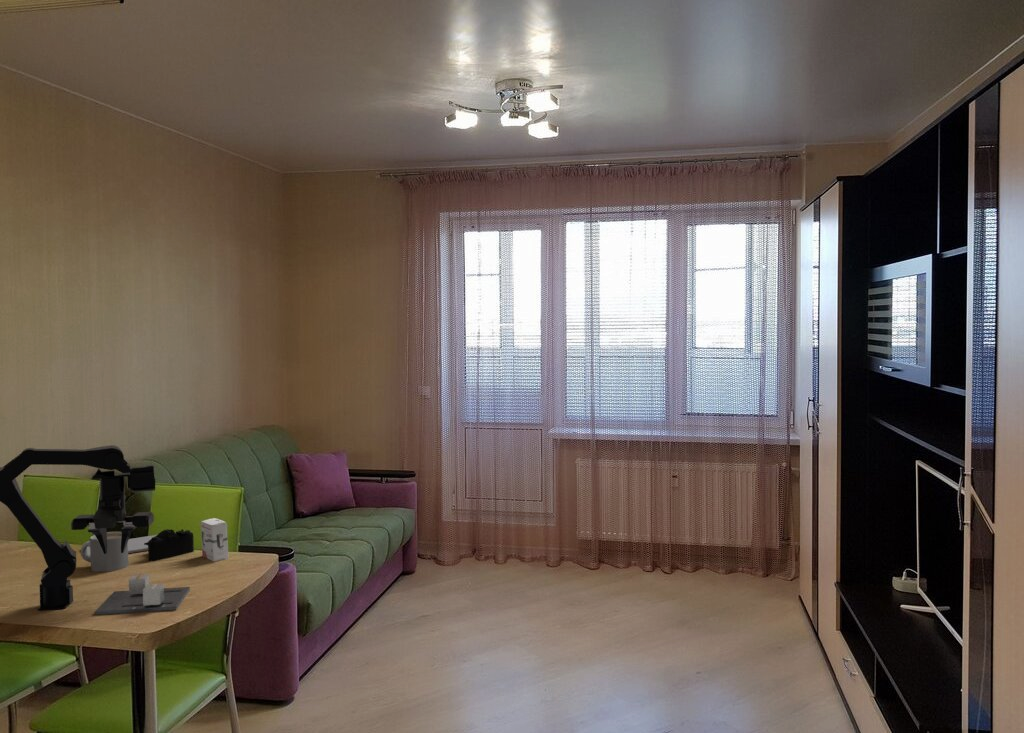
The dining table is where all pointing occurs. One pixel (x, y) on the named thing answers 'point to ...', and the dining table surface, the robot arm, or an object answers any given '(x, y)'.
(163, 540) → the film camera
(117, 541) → the coffee mug
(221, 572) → the dining table surface
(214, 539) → the ink box
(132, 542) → the tablet
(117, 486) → the robot arm
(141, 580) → the fader
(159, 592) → the fader
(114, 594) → the plate
